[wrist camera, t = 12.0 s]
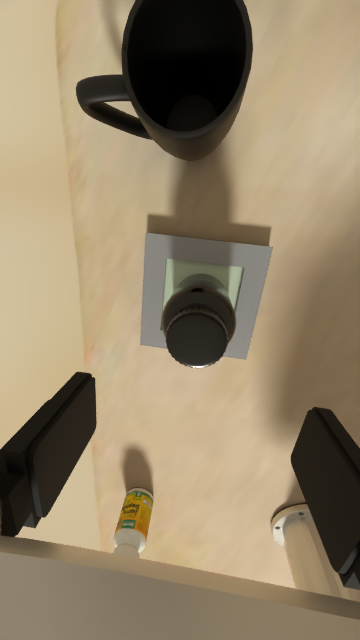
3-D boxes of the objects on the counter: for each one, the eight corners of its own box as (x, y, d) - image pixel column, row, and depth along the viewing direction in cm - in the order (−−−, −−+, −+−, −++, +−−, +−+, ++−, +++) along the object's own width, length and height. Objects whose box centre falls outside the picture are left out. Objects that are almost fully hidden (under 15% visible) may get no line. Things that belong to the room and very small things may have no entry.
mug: (110, 88, 22) (48, -9, 14) (233, 67, 21) (255, -58, 12) (123, 183, 25) (80, 153, 16) (233, 170, 24) (251, 129, 15)
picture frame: (268, 246, 26) (272, 246, 24) (244, 353, 31) (246, 359, 29) (148, 233, 27) (145, 232, 25) (143, 339, 32) (140, 344, 30)
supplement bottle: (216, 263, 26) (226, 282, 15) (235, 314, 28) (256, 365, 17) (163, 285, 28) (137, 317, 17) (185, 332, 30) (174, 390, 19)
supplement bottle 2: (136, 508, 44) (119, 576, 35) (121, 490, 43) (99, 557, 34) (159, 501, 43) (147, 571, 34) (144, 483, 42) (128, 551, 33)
